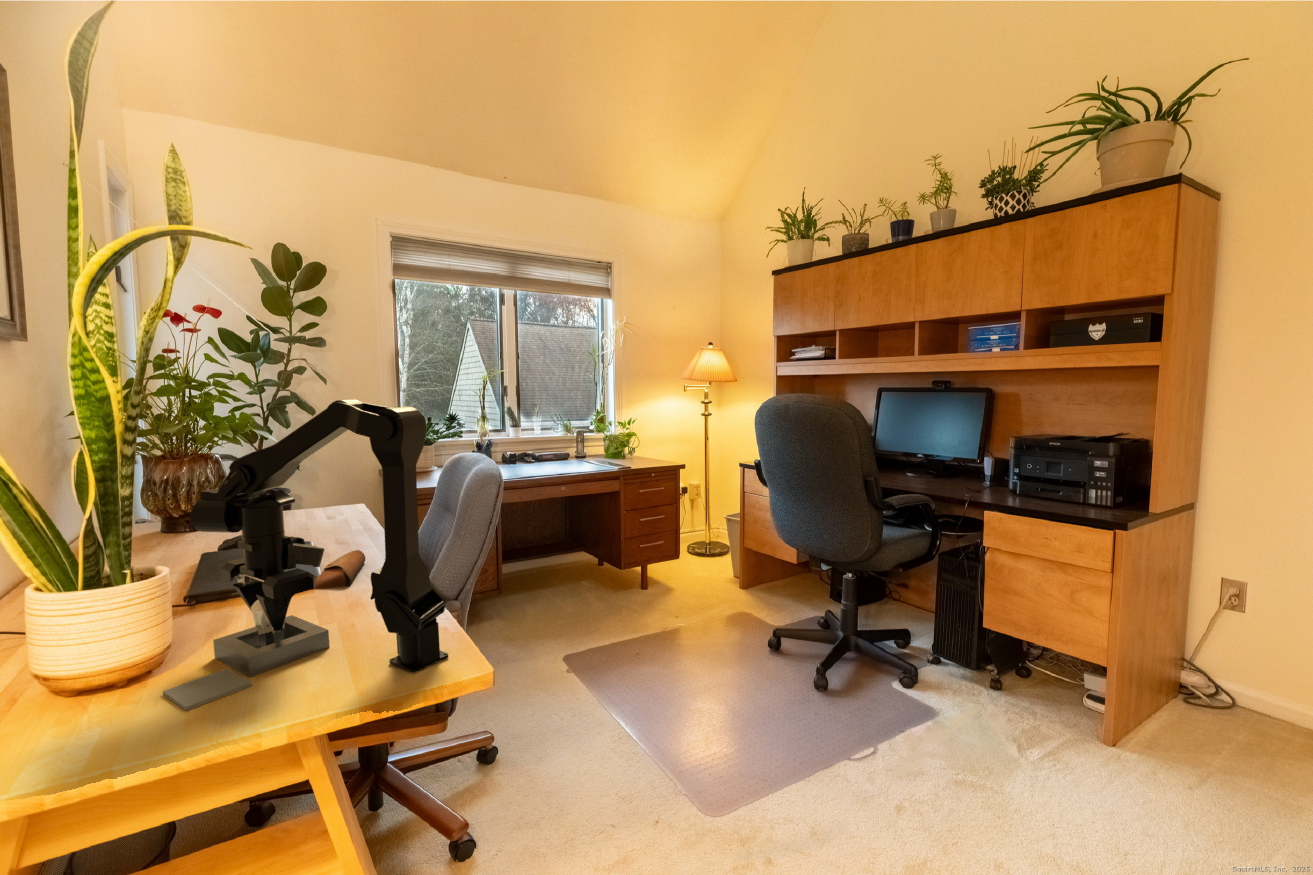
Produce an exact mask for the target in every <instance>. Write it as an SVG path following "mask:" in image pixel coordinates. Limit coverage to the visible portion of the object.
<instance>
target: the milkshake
mask: <svg viewBox="0 0 1313 875" xmlns="http://www.w3.org/2000/svg"><path fill="white" fill-rule="evenodd" d="M251 610H252V612H251V613H252V618H253V622H254V625H255V626H254V627H256V631H257V636H258V641H259V646H260V648H261V647H264V646H267V645H270V644H273V643H276V642H279V641H282V640H285V633H284V625H283V628H282V629H281V630H278V631H274V629H273V628H272V626H271V624H270V622H269V620H268V618H267V616H266V614H265V612H264V610H263V608H262V606H261V604H260V602H259V600H257V601H255V602H254V604H253V605H252V606H251ZM251 610H250V611H251Z"/></svg>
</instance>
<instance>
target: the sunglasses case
mask: <svg viewBox="0 0 1313 875" xmlns="http://www.w3.org/2000/svg"><path fill="white" fill-rule="evenodd" d="M365 562H366V556H365V553H364V552H363V551H362V550H360V549H355V550H351V551H349V552H347V553H345V554H343V555H341V556H340V557H338V558H336V559H335V560H333V561H332V562H330V563H328V564H326V566H325V567H324V568H323V570H322V571H321V573H320V574H319V575H318V576H317V577H315V584H316V587H315V588H314V589H312V590H321V589H333V588H344V587H345V588H346V587H350V585H351V584H352V583H353V581H354V579H355V577H356V575H357V574H358V572H359V571H360V569H361V568H362V567H363V565H364V563H365ZM312 590H311V591H312Z"/></svg>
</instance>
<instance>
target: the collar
mask: <svg viewBox="0 0 1313 875" xmlns="http://www.w3.org/2000/svg"><path fill="white" fill-rule="evenodd" d="M284 633H285V640H282V641H279V642H276V643H273V644H270V645H267V646H264V647H261V648H260V646H259V641H258V636H257V631H256V626H253V627H250V628H246V629H244V630H241V631H238V632H234V633H230V634H228V635H224V636H220V637H218V638H215V639H213V640H212V641H213V653H214V658H215V659H216V660H217V661H219V662H221V663H223V664H225V665H227V666H228V667H230V668H232V669H234V670H235V671H238V673H242V674H243V675H245V676H246V677H247V678H252V677H254V676H256V675H259V674H262V673H265V672H268V671H270V670H273V669H275V668H278V667H280V666H284V665H287V664H290V663H292V662H294V661H297V660H299V659H302V658H305V657H308V656H311V655H312V654H313V655H314V654H316V653H319V652H321V651H323V650H326V649H329V648H330V633H329V629H327V628H325V627H322V626H320V625H317V624H315V623H313V622H310V621H307V620H306V619H305V620H304V619H303V618H301V617H297V616H295V615H293V614H291V615H287V616H286V617H285V621H284Z"/></svg>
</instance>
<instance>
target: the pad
mask: <svg viewBox="0 0 1313 875" xmlns="http://www.w3.org/2000/svg"><path fill="white" fill-rule="evenodd" d="M251 686H252V681H250V680H248V679H247V678H244V677H243V676H241V675H239V674H237V673H236V672H234V671H232V670H230V669H229V668H225V669H224V668H223V669H222V670H219V671H216V672H213V673H210V674H207V675H204V676H202V677H198V678H195V679H192V680H190V681H187V682H185V683H182V684H179V685H176V686H173V687H171V688H167V689H165V690H163V691H162V695H163V696H165V698H167V699H169V700H170V701H172V702H173V703H174V704H176V705H177V706H179V708H181V709H183V710H184V711H189V710H192V709H194V708H196V707H199V706H202V705H204V704H208V703H210V702H213V701H214V700H218V699H220V698H223V697H226V696H228V695H230V694H233V693H236V692H238V691H241V690H243V689H246V688H248V687H251Z"/></svg>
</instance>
